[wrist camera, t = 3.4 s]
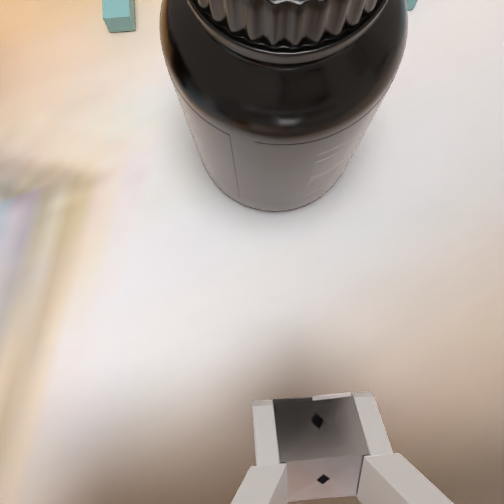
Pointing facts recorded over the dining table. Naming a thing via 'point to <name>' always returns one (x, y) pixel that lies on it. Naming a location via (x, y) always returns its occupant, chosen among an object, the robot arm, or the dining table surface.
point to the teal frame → (123, 14)
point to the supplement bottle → (280, 88)
